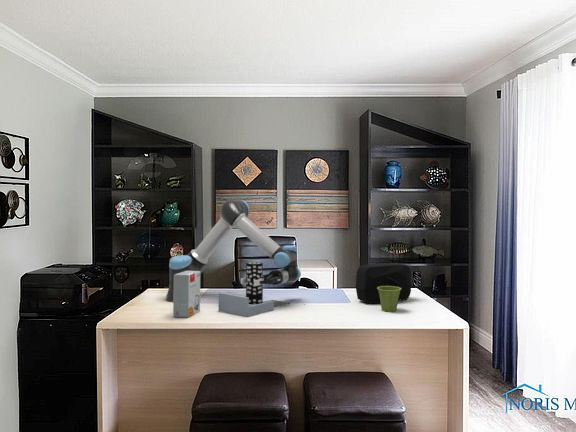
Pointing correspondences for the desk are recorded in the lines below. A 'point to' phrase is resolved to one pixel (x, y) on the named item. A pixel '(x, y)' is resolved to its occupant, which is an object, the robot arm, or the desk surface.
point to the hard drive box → (186, 294)
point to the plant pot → (389, 297)
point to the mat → (278, 303)
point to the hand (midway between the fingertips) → (247, 282)
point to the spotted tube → (253, 273)
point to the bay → (242, 305)
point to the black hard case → (382, 280)
